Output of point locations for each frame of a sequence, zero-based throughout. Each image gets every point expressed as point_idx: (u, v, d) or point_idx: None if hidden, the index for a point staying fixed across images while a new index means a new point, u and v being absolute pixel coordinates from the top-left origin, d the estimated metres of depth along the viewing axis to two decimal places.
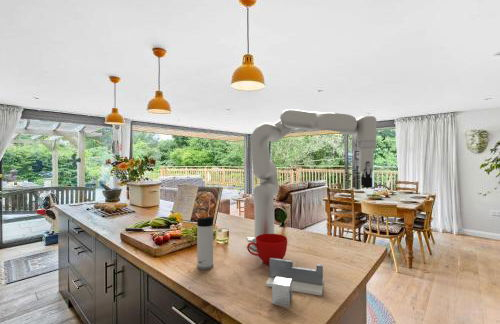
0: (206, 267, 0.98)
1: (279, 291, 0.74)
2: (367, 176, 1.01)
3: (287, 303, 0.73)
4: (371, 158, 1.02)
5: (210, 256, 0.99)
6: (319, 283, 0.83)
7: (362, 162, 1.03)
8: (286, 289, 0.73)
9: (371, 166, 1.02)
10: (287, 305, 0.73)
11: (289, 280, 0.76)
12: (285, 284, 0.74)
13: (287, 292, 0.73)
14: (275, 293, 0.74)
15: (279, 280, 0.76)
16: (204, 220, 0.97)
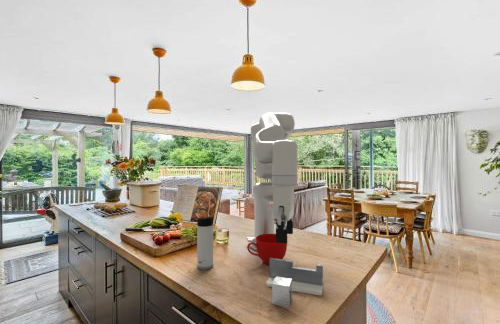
0: (206, 267, 0.98)
1: (279, 291, 0.74)
2: (279, 228, 0.70)
3: (287, 303, 0.73)
4: (286, 201, 0.71)
5: (210, 256, 0.99)
6: (319, 283, 0.83)
7: (274, 206, 0.72)
8: (286, 289, 0.73)
9: (286, 213, 0.71)
10: (287, 305, 0.73)
11: (289, 280, 0.76)
12: (285, 284, 0.74)
13: (287, 292, 0.73)
14: (275, 293, 0.74)
15: (279, 280, 0.76)
16: (204, 220, 0.97)
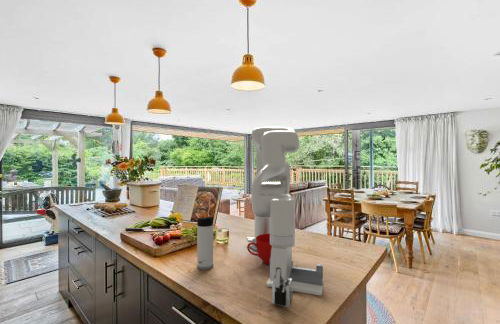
0: (206, 267, 0.98)
1: None
2: (278, 291, 0.72)
3: (287, 303, 0.73)
4: (283, 263, 0.71)
5: (210, 256, 0.99)
6: (319, 283, 0.83)
7: (271, 267, 0.72)
8: (286, 289, 0.73)
9: (283, 275, 0.71)
10: (287, 305, 0.73)
11: (289, 280, 0.76)
12: (285, 284, 0.74)
13: (287, 292, 0.73)
14: None
15: None
16: (204, 220, 0.97)
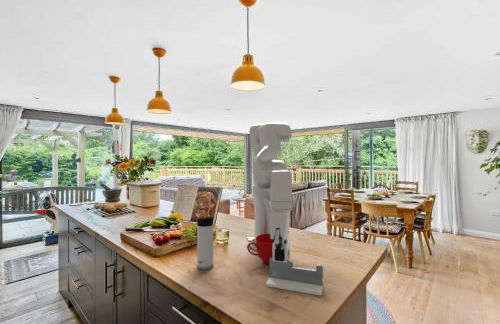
0: (206, 267, 0.98)
1: None
2: (277, 248, 0.84)
3: (285, 259, 0.85)
4: (282, 224, 0.83)
5: (210, 256, 0.99)
6: (319, 283, 0.83)
7: (272, 228, 0.84)
8: (284, 247, 0.85)
9: (282, 234, 0.83)
10: (285, 261, 0.85)
11: (287, 241, 0.88)
12: (284, 243, 0.86)
13: (285, 249, 0.85)
14: None
15: None
16: (204, 220, 0.97)
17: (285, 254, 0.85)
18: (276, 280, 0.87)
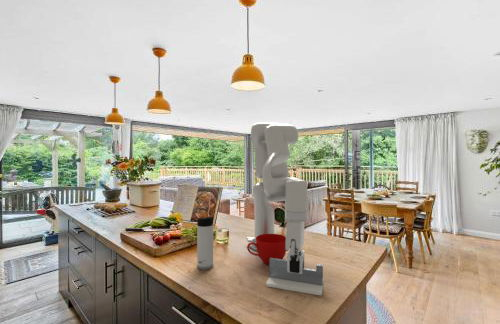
0: (206, 267, 0.98)
1: None
2: (292, 260, 0.82)
3: (300, 270, 0.83)
4: (297, 235, 0.81)
5: (210, 256, 0.99)
6: (319, 283, 0.83)
7: (287, 239, 0.82)
8: (300, 258, 0.84)
9: (297, 245, 0.81)
10: (300, 272, 0.83)
11: (302, 252, 0.87)
12: (299, 254, 0.84)
13: (300, 261, 0.83)
14: None
15: None
16: (204, 220, 0.97)
17: (300, 265, 0.83)
18: (276, 280, 0.87)
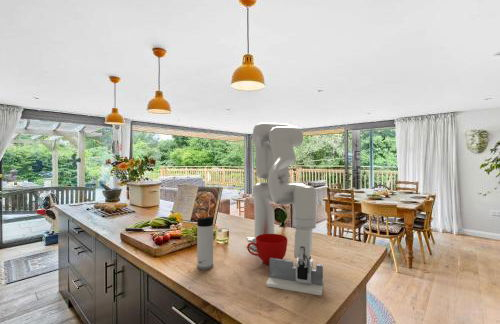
0: (206, 267, 0.98)
1: None
2: (301, 266, 0.80)
3: (309, 280, 0.83)
4: (306, 242, 0.81)
5: (210, 256, 0.99)
6: (319, 283, 0.83)
7: (296, 246, 0.82)
8: (308, 268, 0.83)
9: (306, 253, 0.80)
10: (309, 282, 0.83)
11: (310, 260, 0.86)
12: (307, 263, 0.84)
13: (309, 270, 0.83)
14: None
15: None
16: (204, 220, 0.97)
17: (309, 275, 0.83)
18: (276, 280, 0.87)
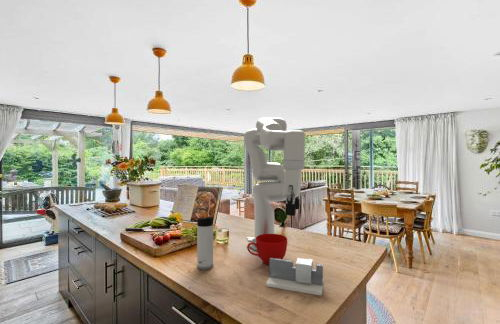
0: (206, 267, 0.98)
1: (302, 270, 0.83)
2: (289, 203, 0.86)
3: (309, 280, 0.83)
4: (295, 181, 0.86)
5: (210, 256, 0.99)
6: (319, 283, 0.83)
7: (285, 185, 0.87)
8: (308, 268, 0.83)
9: (294, 191, 0.86)
10: (309, 282, 0.83)
11: (310, 260, 0.86)
12: (307, 263, 0.84)
13: (309, 270, 0.83)
14: (299, 272, 0.84)
15: (301, 260, 0.86)
16: (204, 220, 0.97)
17: (309, 275, 0.83)
18: (276, 280, 0.87)
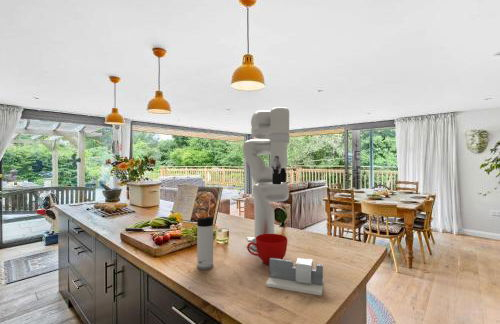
0: (206, 267, 0.98)
1: (302, 270, 0.83)
2: (275, 172, 0.93)
3: (309, 280, 0.83)
4: (280, 152, 0.94)
5: (210, 256, 0.99)
6: (319, 283, 0.83)
7: (271, 157, 0.95)
8: (308, 268, 0.83)
9: (280, 161, 0.94)
10: (309, 282, 0.83)
11: (310, 260, 0.86)
12: (307, 263, 0.84)
13: (309, 270, 0.83)
14: (299, 272, 0.84)
15: (301, 260, 0.86)
16: (204, 220, 0.97)
17: (309, 275, 0.83)
18: (276, 280, 0.87)
